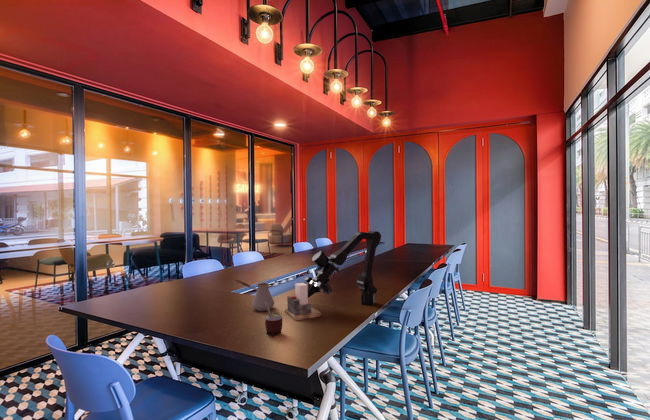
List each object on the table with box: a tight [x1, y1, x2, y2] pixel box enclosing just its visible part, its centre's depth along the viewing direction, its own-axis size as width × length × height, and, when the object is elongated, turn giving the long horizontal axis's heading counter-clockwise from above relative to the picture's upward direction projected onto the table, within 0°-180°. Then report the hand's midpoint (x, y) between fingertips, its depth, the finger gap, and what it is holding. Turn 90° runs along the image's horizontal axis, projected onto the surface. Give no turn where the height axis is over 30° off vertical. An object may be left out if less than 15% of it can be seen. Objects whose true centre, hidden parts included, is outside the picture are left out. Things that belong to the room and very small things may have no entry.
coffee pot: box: [234, 279, 275, 312], centre depth 179 cm, size 21×12×15 cm, turn 80°
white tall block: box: [294, 282, 309, 306], centre depth 168 cm, size 4×6×13 cm, turn 27°
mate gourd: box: [263, 301, 283, 337], centre depth 142 cm, size 8×8×15 cm
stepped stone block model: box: [284, 295, 322, 321], centre depth 168 cm, size 14×14×10 cm
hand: (305, 298), depth 169 cm, fingers closed
